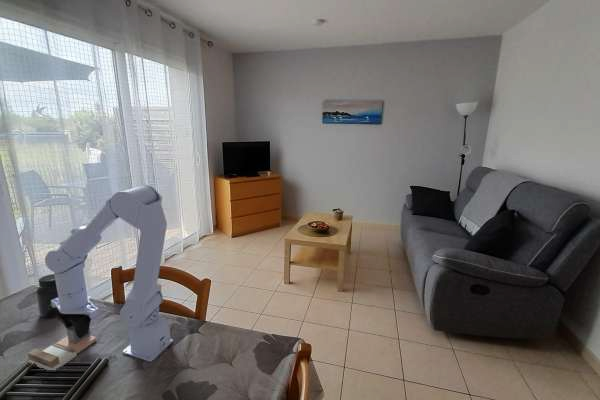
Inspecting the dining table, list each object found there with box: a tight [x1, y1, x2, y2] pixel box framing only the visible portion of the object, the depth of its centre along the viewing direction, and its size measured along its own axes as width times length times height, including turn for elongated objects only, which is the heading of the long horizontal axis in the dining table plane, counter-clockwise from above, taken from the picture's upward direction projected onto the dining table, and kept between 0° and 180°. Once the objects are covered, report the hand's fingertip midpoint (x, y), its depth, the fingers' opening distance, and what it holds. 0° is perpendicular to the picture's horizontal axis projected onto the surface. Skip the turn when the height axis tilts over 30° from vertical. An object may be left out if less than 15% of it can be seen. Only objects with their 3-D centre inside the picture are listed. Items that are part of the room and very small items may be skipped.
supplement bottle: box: [35, 273, 60, 319], centre depth 85 cm, size 7×7×12 cm
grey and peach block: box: [55, 325, 97, 354], centre depth 74 cm, size 8×5×5 cm
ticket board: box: [27, 343, 78, 370], centre depth 69 cm, size 8×6×3 cm
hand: (79, 334), depth 75 cm, fingers closed on grey and peach block, 2 cm apart
